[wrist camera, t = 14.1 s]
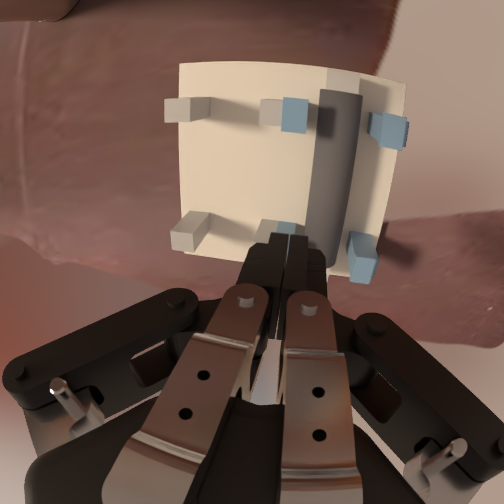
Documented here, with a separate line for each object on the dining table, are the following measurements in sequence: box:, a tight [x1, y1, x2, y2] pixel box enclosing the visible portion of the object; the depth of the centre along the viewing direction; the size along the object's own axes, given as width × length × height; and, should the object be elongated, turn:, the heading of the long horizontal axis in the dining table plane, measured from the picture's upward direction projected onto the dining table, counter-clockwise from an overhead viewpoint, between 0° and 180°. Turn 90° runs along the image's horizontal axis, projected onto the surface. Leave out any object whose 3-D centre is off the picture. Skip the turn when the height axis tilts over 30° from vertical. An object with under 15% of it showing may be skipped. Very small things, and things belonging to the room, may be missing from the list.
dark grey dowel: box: [304, 68, 363, 281], centre depth 25 cm, size 20×4×4 cm, turn 177°
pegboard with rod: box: [165, 61, 409, 284], centre depth 25 cm, size 21×21×6 cm
